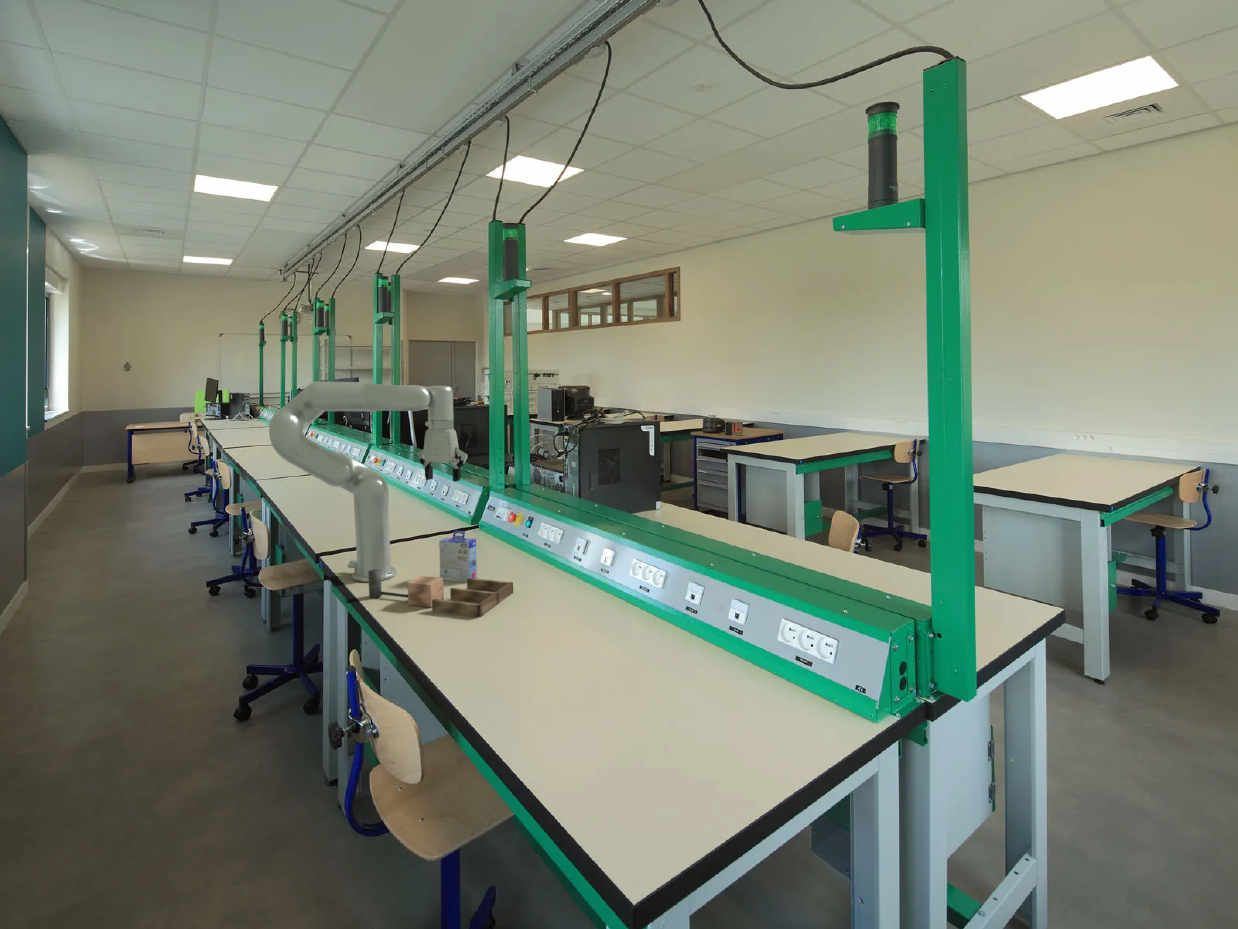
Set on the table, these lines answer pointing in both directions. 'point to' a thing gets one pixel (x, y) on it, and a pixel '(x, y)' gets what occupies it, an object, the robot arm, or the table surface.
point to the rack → (474, 597)
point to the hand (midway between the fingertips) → (442, 480)
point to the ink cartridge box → (458, 558)
